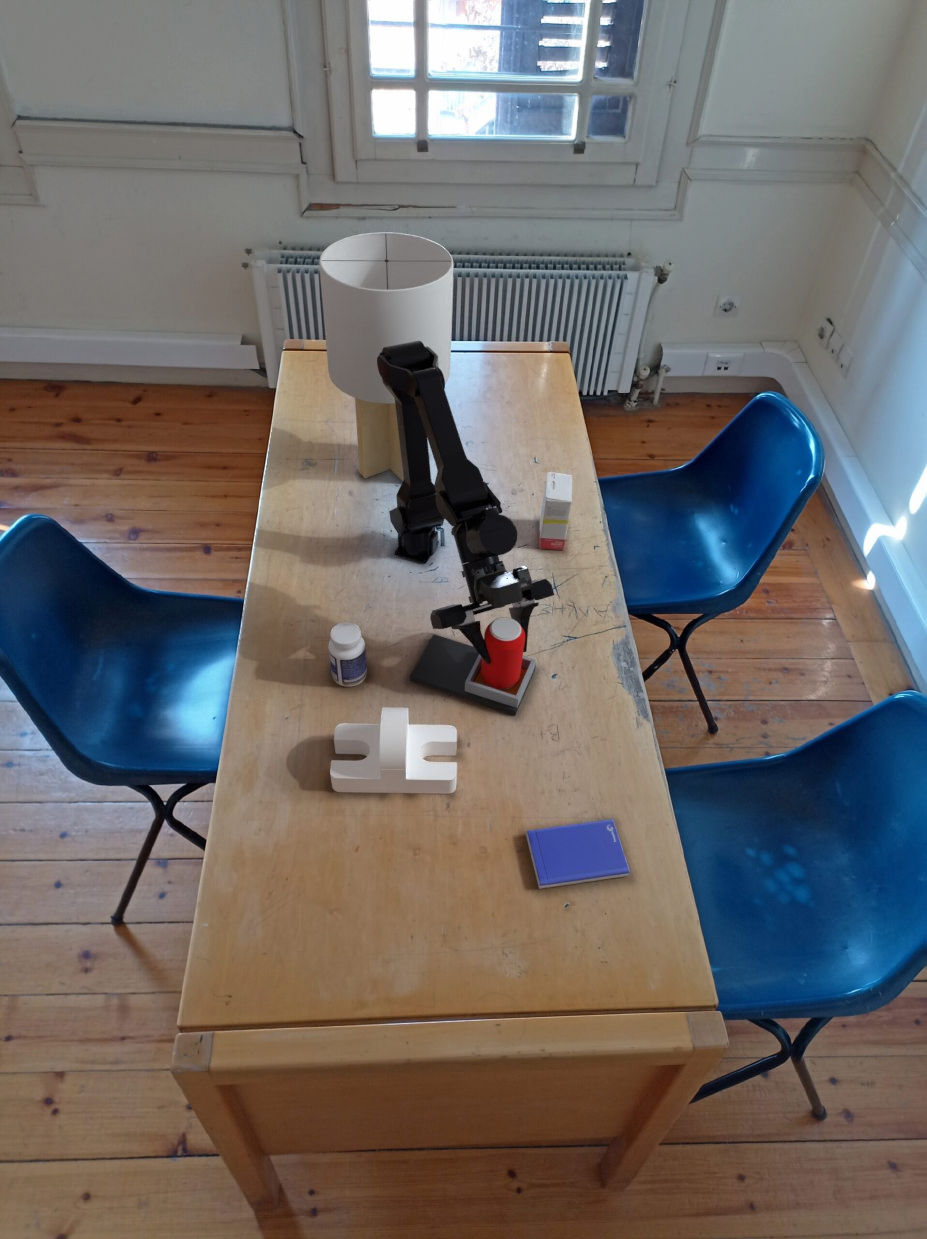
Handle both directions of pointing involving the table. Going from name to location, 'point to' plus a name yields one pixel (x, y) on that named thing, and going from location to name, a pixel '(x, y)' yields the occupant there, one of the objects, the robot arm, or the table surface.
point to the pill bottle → (347, 654)
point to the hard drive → (576, 853)
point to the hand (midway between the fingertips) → (506, 657)
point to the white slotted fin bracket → (394, 756)
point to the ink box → (555, 511)
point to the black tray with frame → (467, 675)
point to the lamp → (382, 326)
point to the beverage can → (503, 653)
